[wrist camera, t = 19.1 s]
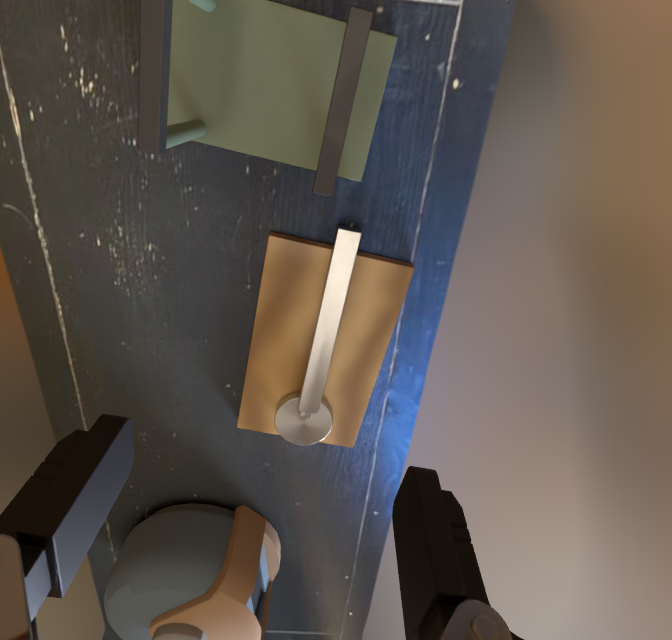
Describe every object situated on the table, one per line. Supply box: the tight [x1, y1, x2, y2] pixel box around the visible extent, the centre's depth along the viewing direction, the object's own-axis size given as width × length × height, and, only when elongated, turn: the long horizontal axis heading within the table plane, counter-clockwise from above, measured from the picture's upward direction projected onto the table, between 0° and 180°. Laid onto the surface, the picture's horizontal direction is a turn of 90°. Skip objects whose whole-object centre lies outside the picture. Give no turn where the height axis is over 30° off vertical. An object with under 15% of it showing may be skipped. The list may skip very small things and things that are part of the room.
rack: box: [138, 0, 398, 197], centre depth 27 cm, size 16×10×11 cm, turn 77°
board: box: [237, 232, 414, 448], centre depth 43 cm, size 13×22×1 cm, turn 167°
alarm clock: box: [104, 503, 281, 640], centre depth 53 cm, size 19×20×12 cm
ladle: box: [274, 225, 362, 445], centre depth 41 cm, size 24×6×3 cm, turn 167°
